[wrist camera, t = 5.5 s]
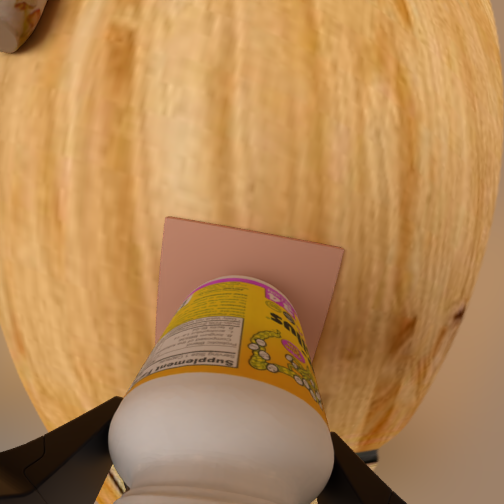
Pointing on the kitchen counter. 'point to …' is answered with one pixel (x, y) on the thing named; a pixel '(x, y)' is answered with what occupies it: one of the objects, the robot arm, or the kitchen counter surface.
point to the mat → (246, 269)
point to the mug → (18, 22)
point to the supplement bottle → (225, 406)
